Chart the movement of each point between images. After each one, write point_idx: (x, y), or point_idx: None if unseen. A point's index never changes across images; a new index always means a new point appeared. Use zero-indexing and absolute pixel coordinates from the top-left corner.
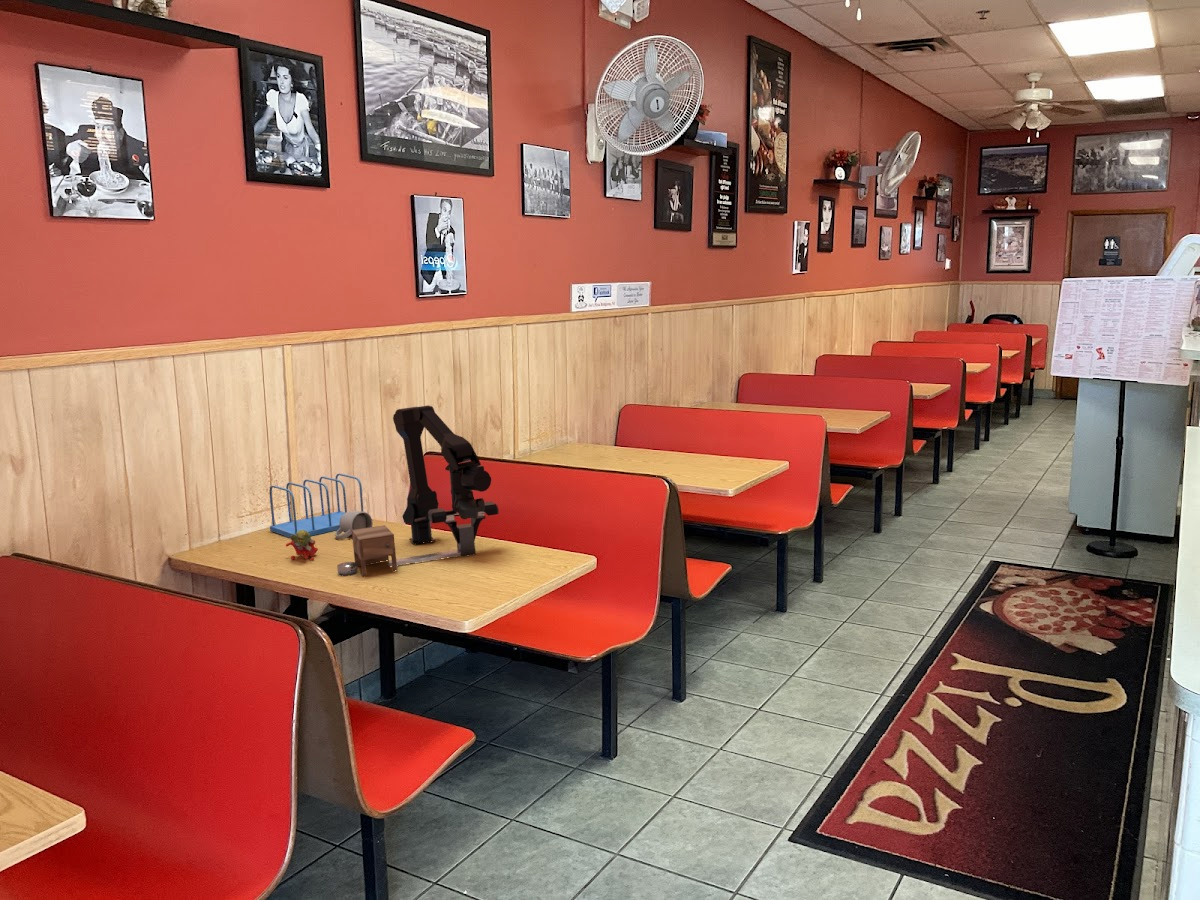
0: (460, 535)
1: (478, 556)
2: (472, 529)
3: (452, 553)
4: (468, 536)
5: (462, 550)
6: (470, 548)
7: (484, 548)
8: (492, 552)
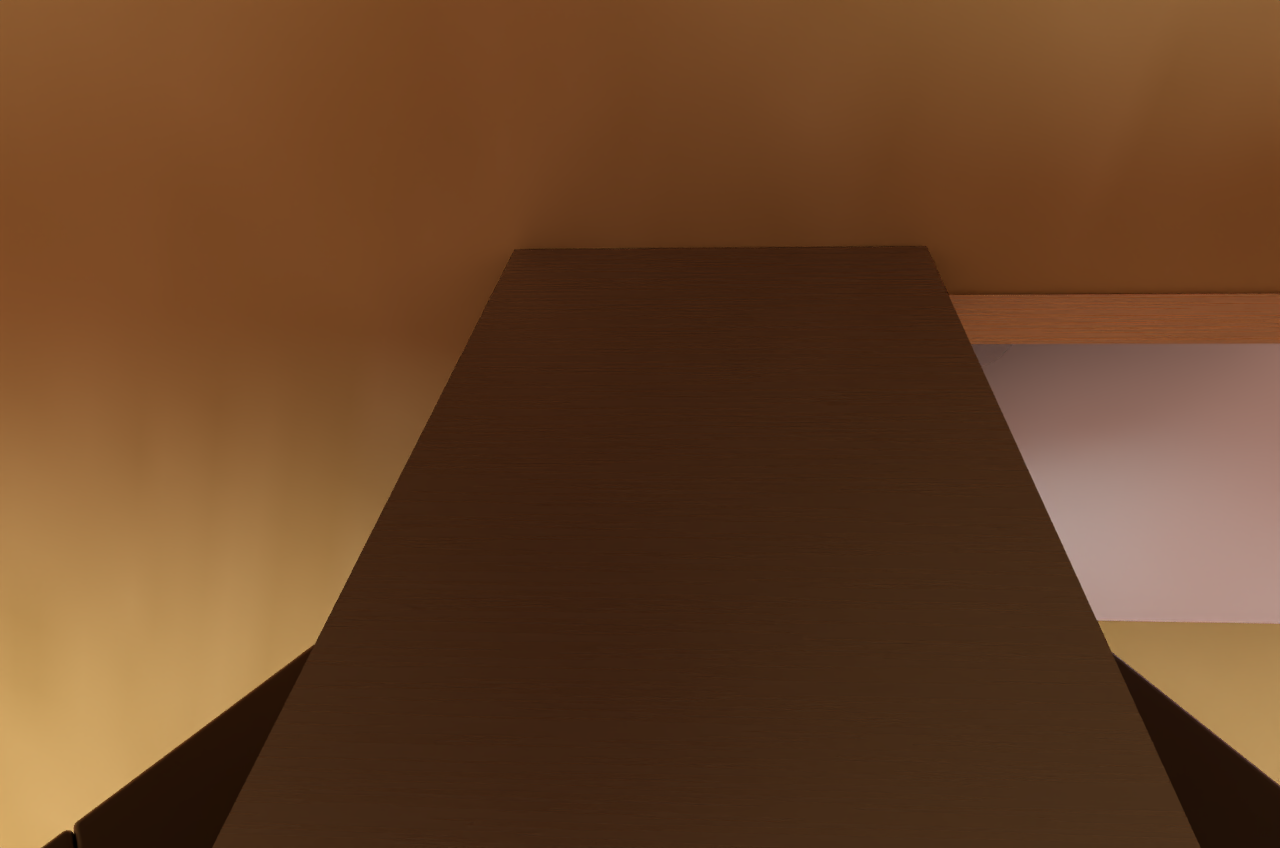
0: (1058, 631)
1: (467, 12)
2: (304, 788)
3: (1205, 342)
4: (630, 554)
5: (902, 309)
6: (627, 320)
7: (225, 638)
8: (43, 209)
